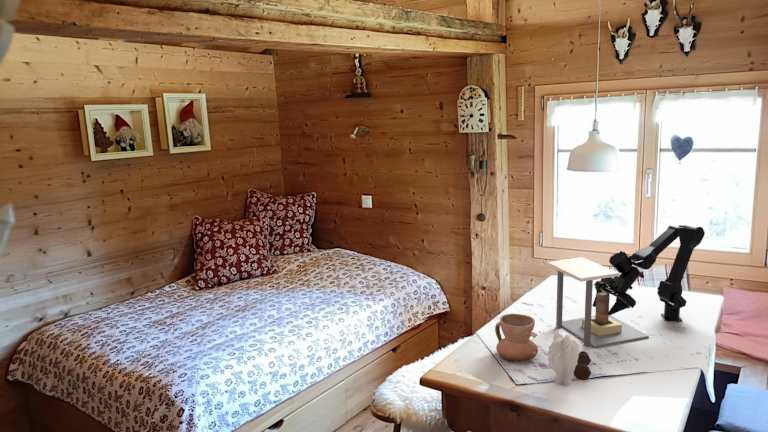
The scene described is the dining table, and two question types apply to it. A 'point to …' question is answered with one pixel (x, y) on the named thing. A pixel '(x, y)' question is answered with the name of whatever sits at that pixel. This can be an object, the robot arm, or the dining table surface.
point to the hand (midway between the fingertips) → (600, 310)
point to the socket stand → (590, 306)
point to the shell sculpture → (563, 357)
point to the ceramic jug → (516, 337)
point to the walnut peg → (602, 309)
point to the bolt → (582, 366)
